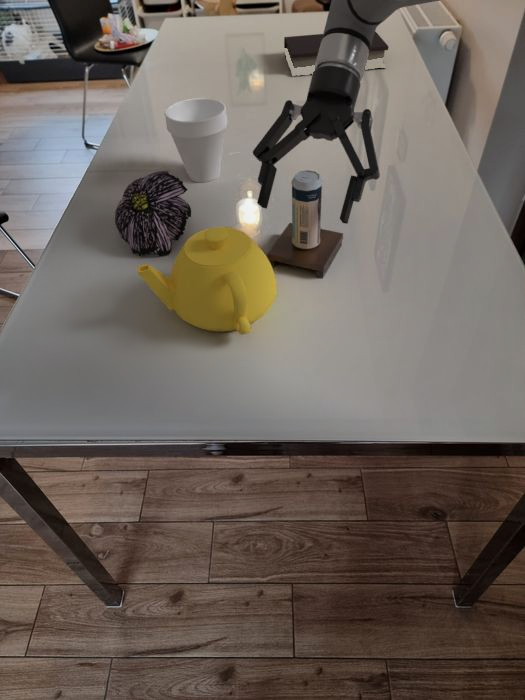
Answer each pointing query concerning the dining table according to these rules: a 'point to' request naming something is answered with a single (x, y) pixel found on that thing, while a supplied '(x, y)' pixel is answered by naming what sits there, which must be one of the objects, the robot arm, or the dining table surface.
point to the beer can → (306, 209)
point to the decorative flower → (152, 213)
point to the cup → (198, 135)
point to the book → (308, 46)
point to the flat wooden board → (306, 251)
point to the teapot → (217, 281)
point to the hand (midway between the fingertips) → (301, 213)
